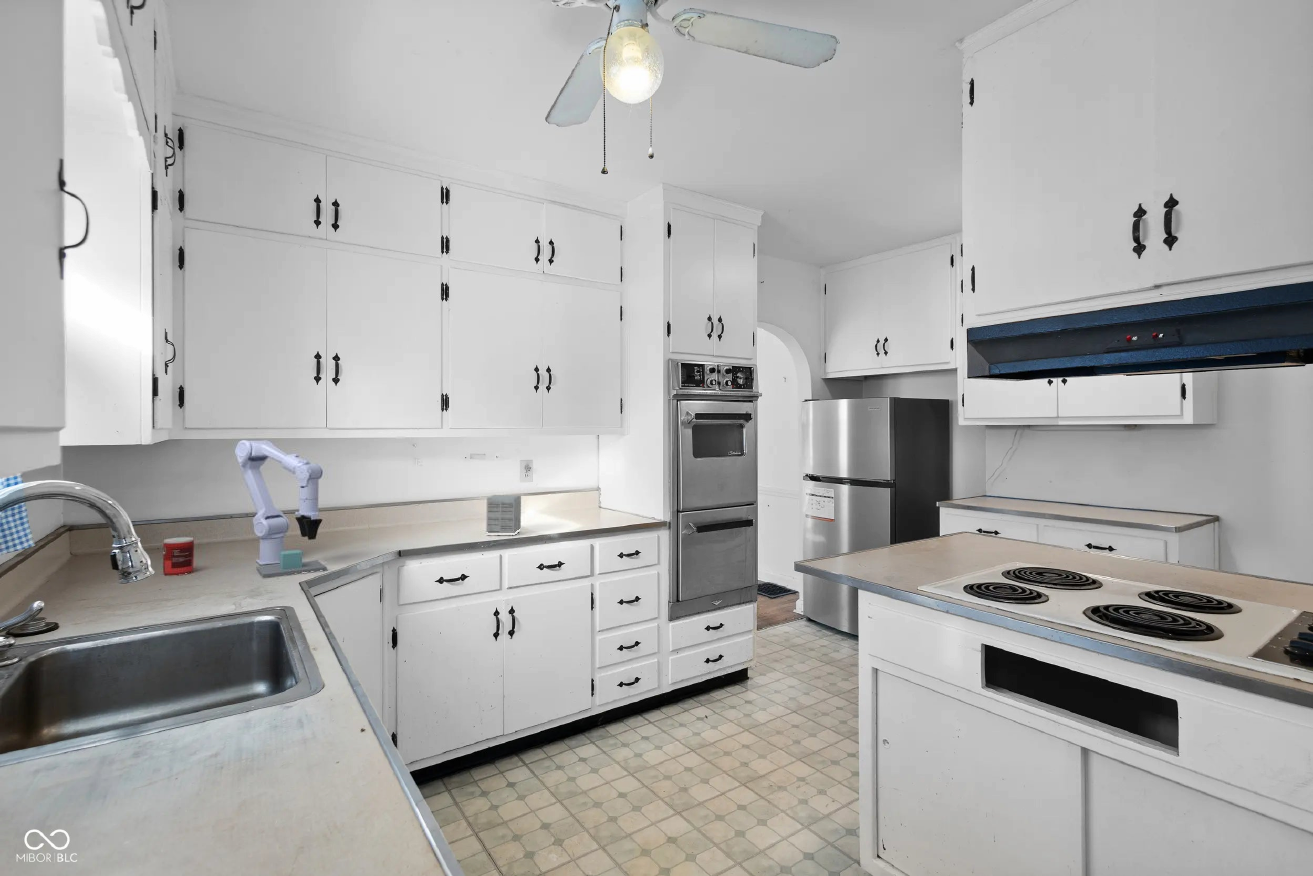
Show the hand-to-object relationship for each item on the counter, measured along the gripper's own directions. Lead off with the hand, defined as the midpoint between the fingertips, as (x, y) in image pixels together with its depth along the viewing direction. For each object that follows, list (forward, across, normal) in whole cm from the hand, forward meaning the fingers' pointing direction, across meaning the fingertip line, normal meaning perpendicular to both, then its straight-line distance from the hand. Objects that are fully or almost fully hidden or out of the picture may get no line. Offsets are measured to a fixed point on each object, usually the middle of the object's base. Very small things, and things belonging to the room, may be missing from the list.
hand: (308, 538), depth 212 cm
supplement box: (+10, -17, +87) cm, 89 cm away
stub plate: (+9, +6, -6) cm, 13 cm away
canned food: (+10, -14, -34) cm, 38 cm away
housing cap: (+8, +6, -7) cm, 12 cm away
